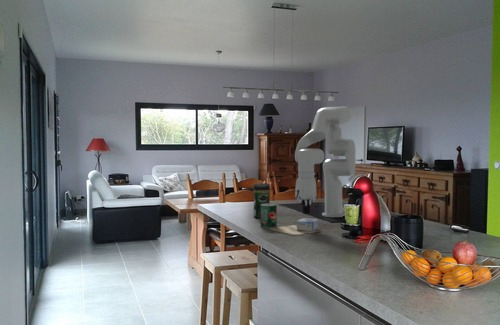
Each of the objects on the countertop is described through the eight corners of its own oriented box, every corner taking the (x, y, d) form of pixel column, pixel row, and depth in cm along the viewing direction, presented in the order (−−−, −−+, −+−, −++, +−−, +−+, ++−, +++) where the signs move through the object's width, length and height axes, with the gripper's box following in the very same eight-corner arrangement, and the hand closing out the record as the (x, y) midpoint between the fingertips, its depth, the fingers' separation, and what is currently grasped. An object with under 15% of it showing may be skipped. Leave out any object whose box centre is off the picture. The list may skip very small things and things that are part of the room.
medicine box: (302, 226, 219) (296, 230, 211) (302, 217, 219) (296, 220, 211) (318, 228, 215) (312, 231, 208) (318, 219, 215) (312, 222, 207)
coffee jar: (269, 215, 256) (269, 182, 255) (271, 217, 248) (271, 183, 247) (252, 215, 255) (251, 182, 254) (254, 218, 247) (254, 184, 246)
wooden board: (295, 225, 225) (295, 224, 225) (320, 231, 210) (320, 230, 210) (269, 229, 216) (269, 228, 216) (293, 235, 201) (293, 234, 201)
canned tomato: (275, 228, 218) (275, 205, 218) (259, 227, 220) (259, 205, 219) (277, 225, 226) (277, 203, 226) (262, 224, 228) (262, 203, 227)
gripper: (312, 174, 223) (312, 211, 224) (288, 175, 215) (289, 214, 216) (323, 175, 217) (323, 213, 218) (299, 176, 209) (299, 216, 209)
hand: (306, 213), depth 217 cm, fingers closed
